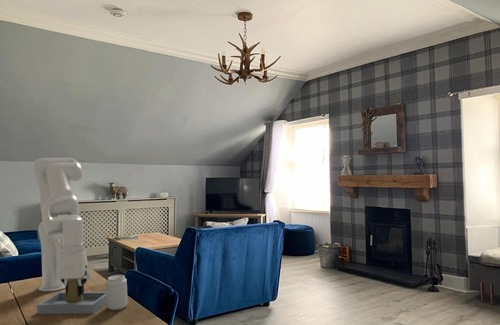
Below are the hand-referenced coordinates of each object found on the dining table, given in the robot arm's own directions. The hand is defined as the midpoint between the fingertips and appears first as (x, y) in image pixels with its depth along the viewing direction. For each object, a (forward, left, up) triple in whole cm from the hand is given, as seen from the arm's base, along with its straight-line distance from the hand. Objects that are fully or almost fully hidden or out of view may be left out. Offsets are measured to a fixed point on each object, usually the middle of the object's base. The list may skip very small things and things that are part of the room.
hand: (74, 294), depth 150 cm
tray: (0, 0, -5) cm, 5 cm away
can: (+15, +9, -5) cm, 18 cm away
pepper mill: (0, 0, -2) cm, 2 cm away
